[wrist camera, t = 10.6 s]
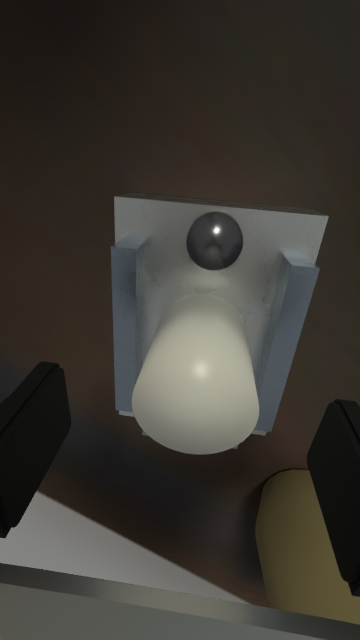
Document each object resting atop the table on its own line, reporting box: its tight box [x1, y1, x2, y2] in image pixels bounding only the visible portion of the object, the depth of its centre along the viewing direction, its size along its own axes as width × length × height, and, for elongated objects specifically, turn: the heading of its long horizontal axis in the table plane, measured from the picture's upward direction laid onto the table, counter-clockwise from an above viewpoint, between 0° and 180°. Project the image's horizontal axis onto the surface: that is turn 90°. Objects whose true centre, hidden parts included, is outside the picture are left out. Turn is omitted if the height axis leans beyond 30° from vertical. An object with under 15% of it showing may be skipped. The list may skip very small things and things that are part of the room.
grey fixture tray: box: [111, 193, 329, 449], centre depth 18 cm, size 14×10×5 cm
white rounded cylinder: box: [132, 294, 259, 454], centre depth 15 cm, size 7×5×6 cm
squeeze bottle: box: [255, 469, 360, 625], centre depth 18 cm, size 8×8×18 cm
